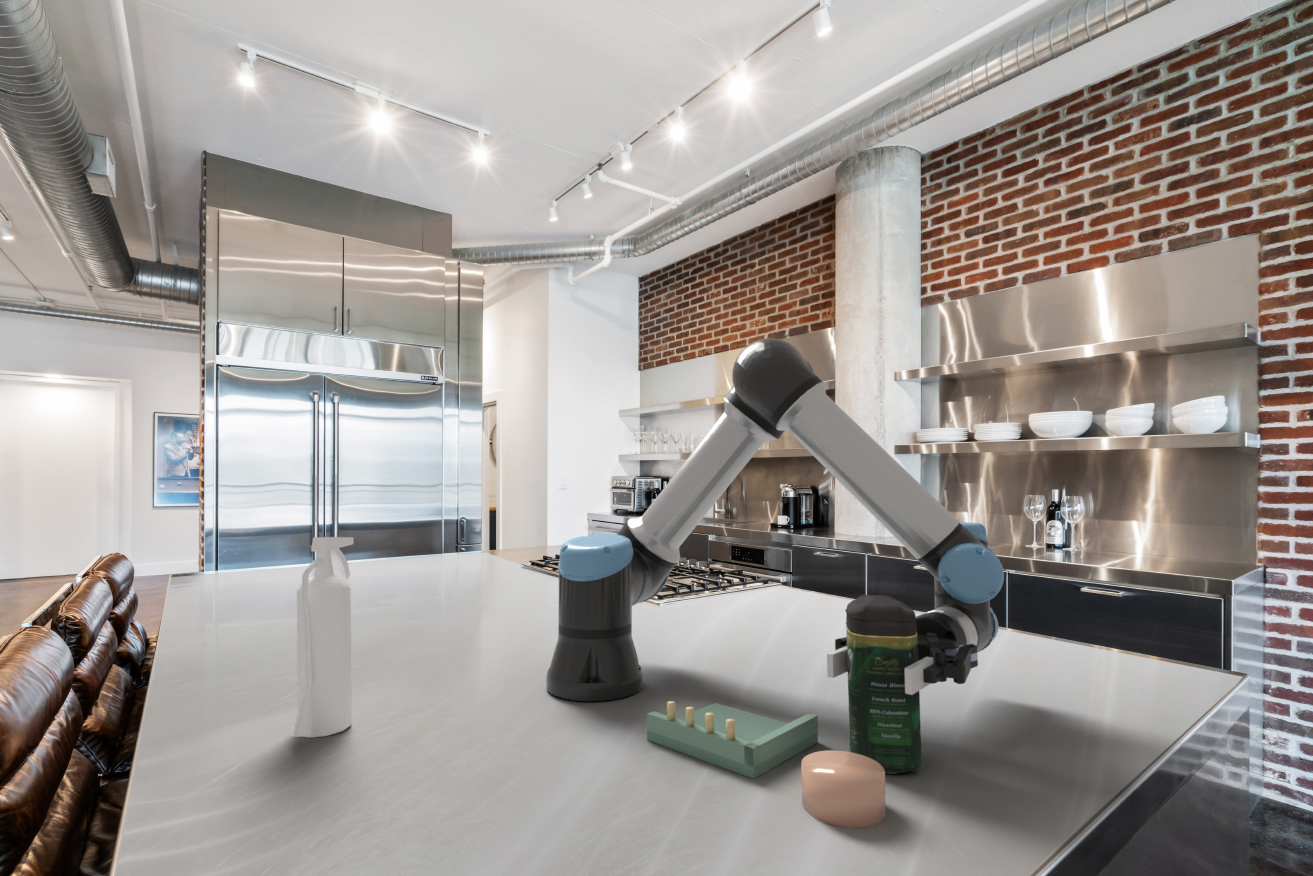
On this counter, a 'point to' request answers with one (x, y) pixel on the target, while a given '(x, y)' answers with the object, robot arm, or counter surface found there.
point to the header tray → (732, 737)
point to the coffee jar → (882, 682)
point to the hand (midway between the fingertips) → (867, 673)
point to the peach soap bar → (843, 788)
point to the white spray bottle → (324, 642)
